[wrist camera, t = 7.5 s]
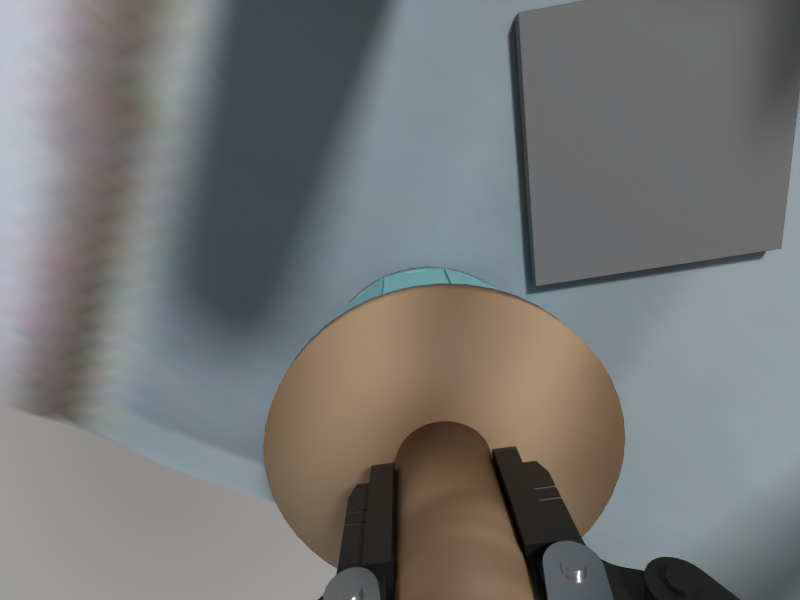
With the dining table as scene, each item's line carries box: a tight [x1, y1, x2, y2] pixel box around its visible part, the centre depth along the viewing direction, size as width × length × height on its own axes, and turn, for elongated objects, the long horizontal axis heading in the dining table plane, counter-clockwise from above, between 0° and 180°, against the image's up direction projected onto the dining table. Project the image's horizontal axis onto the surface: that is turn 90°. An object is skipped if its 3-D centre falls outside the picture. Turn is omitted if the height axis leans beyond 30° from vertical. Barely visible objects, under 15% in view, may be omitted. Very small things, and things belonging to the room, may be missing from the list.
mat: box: [515, 0, 800, 286], centre depth 18 cm, size 11×11×1 cm
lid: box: [264, 283, 625, 600], centre depth 11 cm, size 12×12×7 cm
